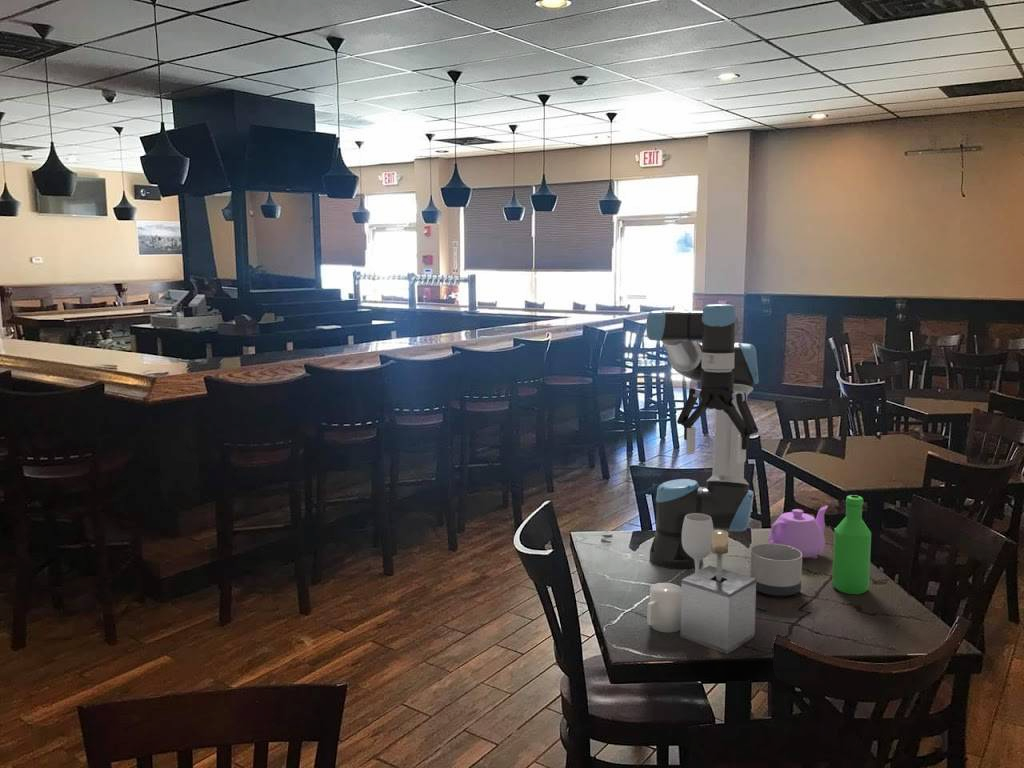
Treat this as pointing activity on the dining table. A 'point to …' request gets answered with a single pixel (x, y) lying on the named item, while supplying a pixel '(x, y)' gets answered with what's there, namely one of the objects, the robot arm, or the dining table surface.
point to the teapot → (800, 532)
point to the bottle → (852, 550)
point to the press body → (718, 609)
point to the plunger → (719, 549)
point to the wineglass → (697, 536)
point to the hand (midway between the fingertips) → (715, 458)
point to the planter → (776, 569)
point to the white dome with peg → (664, 607)
